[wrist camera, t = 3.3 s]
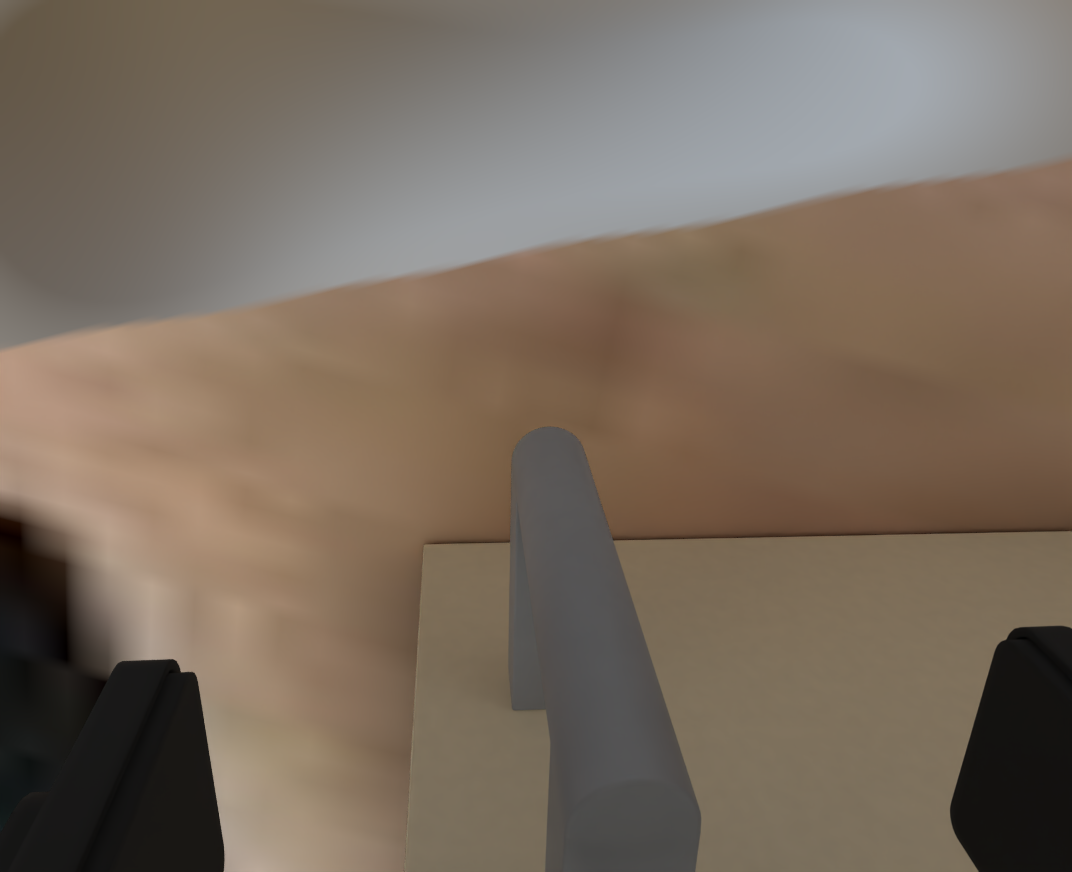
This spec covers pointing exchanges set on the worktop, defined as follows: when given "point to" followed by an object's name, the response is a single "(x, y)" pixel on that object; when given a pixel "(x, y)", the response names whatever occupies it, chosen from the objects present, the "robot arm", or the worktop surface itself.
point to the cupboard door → (703, 689)
